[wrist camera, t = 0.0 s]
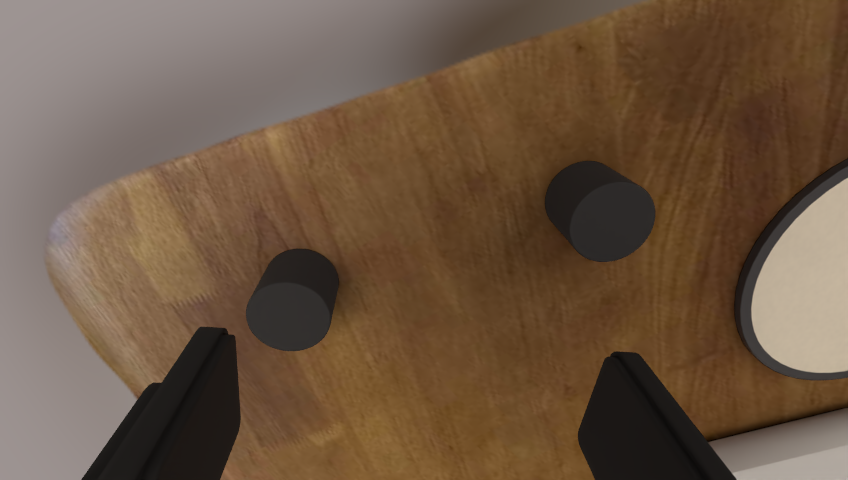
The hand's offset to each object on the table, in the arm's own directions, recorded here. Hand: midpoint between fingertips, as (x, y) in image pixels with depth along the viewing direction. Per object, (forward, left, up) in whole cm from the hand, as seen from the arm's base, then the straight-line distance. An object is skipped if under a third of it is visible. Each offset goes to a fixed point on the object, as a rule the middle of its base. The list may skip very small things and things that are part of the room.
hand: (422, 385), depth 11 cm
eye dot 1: (+6, -6, -15) cm, 18 cm away
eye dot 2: (-1, +10, -15) cm, 18 cm away
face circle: (+2, +31, -15) cm, 35 cm away
